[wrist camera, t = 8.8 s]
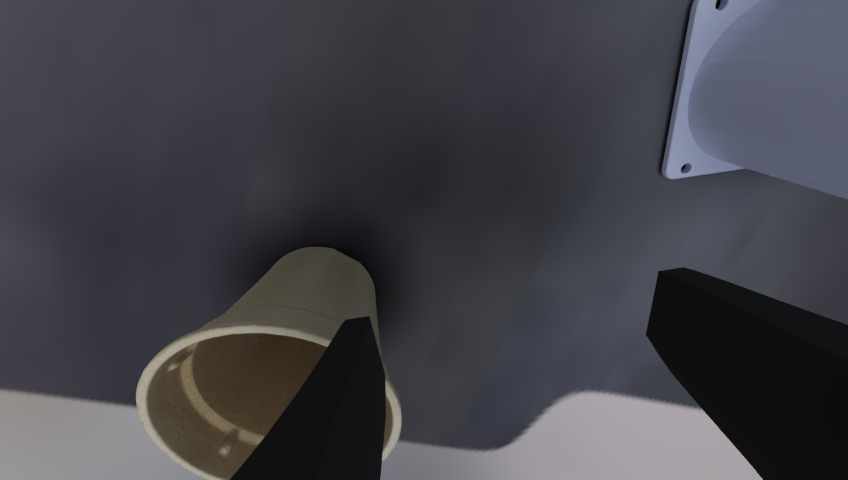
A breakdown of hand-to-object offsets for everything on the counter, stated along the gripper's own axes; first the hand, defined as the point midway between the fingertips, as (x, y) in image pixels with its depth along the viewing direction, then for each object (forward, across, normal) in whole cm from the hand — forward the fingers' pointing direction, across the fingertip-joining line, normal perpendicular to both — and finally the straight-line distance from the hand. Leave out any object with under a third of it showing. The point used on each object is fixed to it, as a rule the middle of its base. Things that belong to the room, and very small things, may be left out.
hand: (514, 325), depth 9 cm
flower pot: (+11, +8, +5) cm, 14 cm away
